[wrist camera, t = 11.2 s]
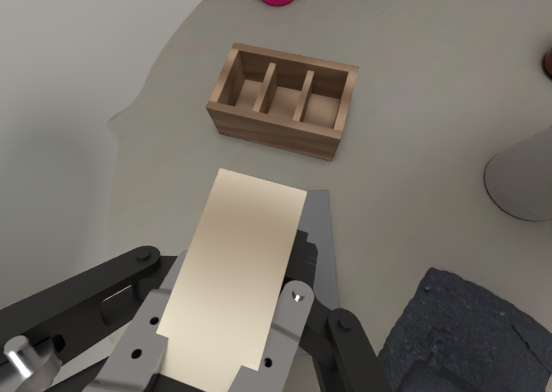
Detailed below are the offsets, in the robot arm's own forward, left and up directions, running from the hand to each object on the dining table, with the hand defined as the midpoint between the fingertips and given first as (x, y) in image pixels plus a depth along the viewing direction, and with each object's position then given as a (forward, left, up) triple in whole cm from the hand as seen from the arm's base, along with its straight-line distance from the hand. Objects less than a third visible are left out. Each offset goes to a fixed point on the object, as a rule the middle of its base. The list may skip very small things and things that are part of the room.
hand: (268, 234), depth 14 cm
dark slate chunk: (-3, +22, -17) cm, 28 cm away
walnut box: (-13, -13, -16) cm, 24 cm away
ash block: (+2, +1, -5) cm, 6 cm away
